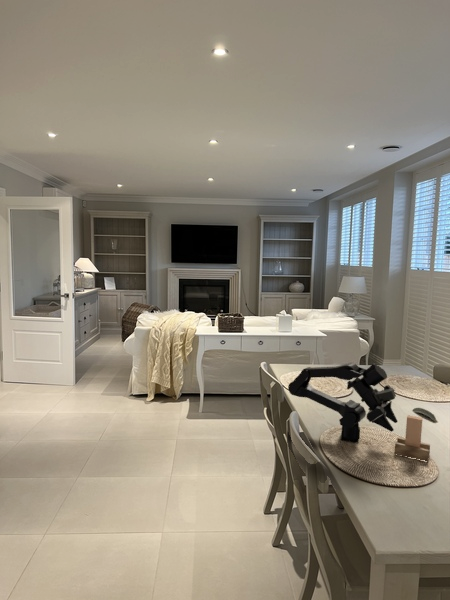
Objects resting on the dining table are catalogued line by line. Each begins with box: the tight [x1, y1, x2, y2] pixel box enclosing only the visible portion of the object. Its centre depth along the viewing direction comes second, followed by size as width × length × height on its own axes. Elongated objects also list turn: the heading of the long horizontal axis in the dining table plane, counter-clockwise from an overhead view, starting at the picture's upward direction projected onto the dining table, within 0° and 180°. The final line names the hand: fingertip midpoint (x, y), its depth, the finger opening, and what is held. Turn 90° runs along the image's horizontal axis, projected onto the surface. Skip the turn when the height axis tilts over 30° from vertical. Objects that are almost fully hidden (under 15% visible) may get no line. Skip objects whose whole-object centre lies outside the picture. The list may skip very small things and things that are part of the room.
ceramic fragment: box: [411, 407, 439, 423], centre depth 189 cm, size 14×5×4 cm, turn 17°
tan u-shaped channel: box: [393, 436, 431, 462], centre depth 152 cm, size 11×8×4 cm
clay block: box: [404, 414, 424, 448], centre depth 151 cm, size 5×2×13 cm, turn 60°
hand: (394, 426), depth 154 cm, fingers open, 9 cm apart
